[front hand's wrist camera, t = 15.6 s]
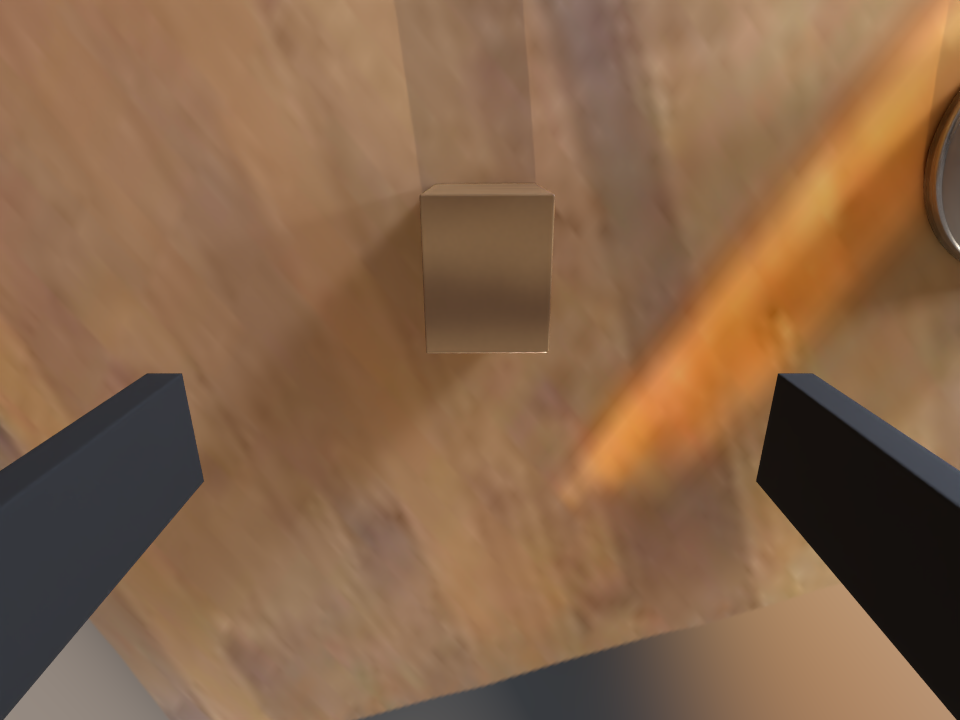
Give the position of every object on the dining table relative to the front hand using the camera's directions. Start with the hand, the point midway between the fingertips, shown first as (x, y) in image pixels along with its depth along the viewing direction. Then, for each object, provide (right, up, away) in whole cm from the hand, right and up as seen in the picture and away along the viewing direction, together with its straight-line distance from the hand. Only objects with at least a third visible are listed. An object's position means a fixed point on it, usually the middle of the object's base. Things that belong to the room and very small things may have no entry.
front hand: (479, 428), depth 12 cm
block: (0, +9, +24) cm, 26 cm away
